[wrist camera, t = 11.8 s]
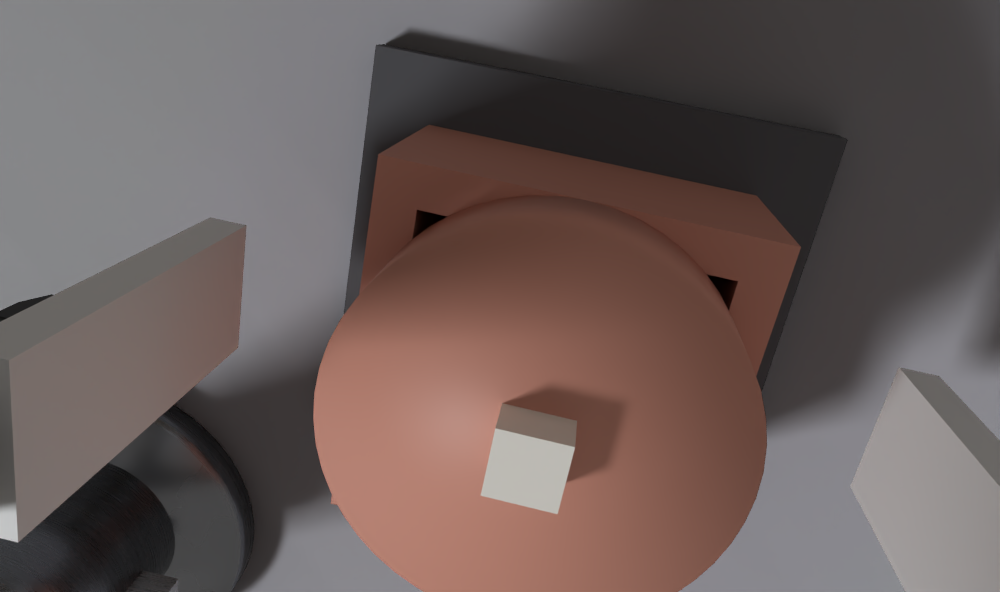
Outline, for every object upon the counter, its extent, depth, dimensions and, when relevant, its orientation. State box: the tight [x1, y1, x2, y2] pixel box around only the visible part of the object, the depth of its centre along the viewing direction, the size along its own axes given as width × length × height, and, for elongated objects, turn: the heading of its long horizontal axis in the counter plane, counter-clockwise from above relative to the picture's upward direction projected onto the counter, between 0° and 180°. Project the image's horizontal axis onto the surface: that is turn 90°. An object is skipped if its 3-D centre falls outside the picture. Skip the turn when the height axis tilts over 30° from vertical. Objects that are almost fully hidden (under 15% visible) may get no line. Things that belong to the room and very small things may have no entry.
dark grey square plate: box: [344, 44, 847, 391], centre depth 18 cm, size 10×10×1 cm
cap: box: [313, 125, 801, 592], centre depth 15 cm, size 7×7×7 cm
